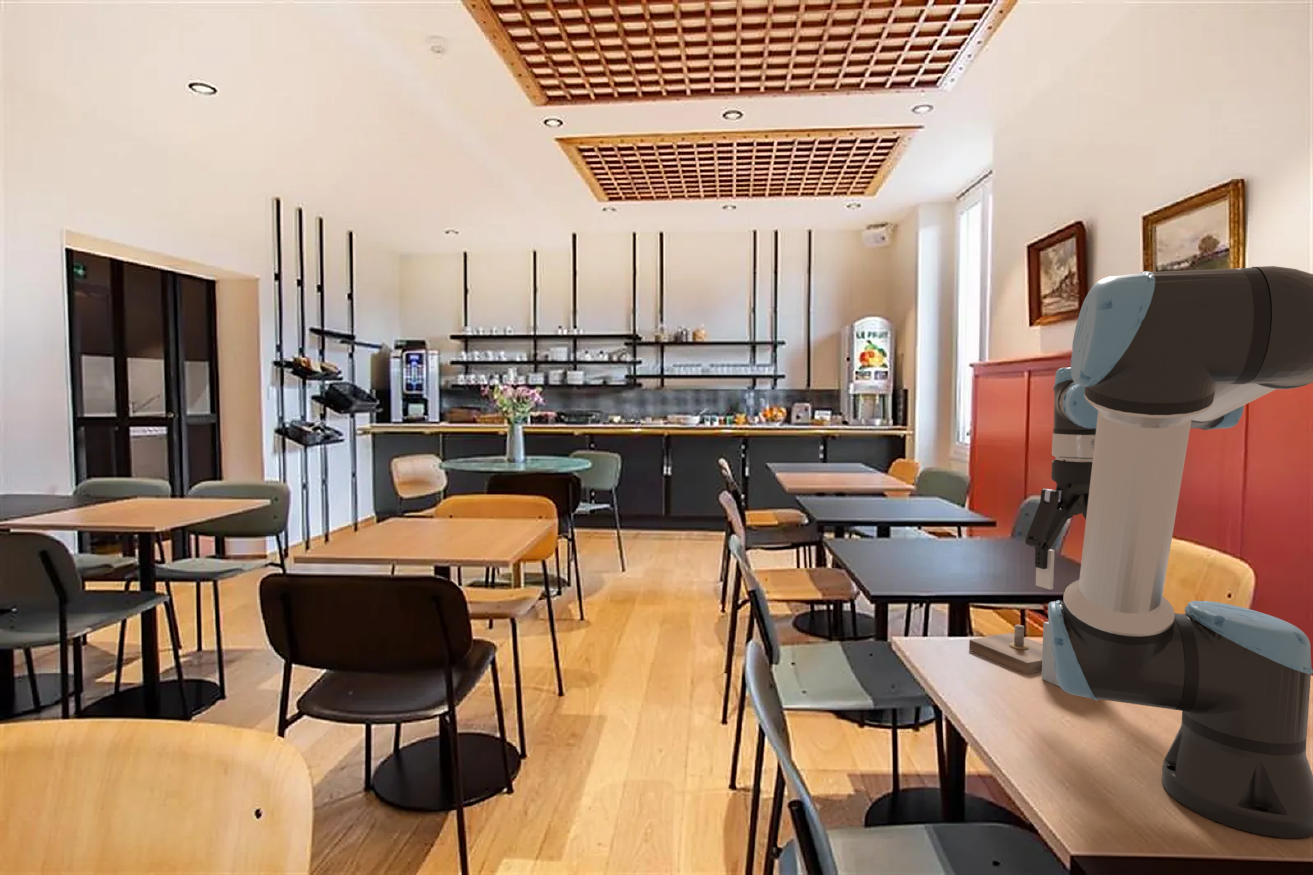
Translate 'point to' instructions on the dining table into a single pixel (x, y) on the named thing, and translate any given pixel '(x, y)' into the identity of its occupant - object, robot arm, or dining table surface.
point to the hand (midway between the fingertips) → (1072, 583)
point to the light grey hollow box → (1047, 657)
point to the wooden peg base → (1011, 650)
